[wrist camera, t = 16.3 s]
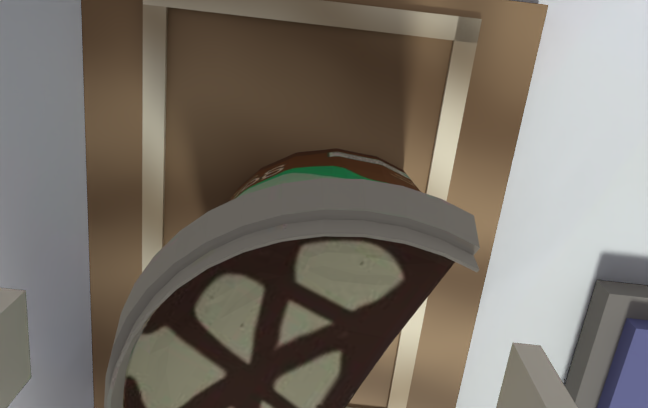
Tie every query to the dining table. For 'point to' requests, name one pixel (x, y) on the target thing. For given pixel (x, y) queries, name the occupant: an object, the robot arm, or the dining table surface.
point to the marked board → (301, 135)
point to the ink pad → (612, 349)
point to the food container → (286, 288)
